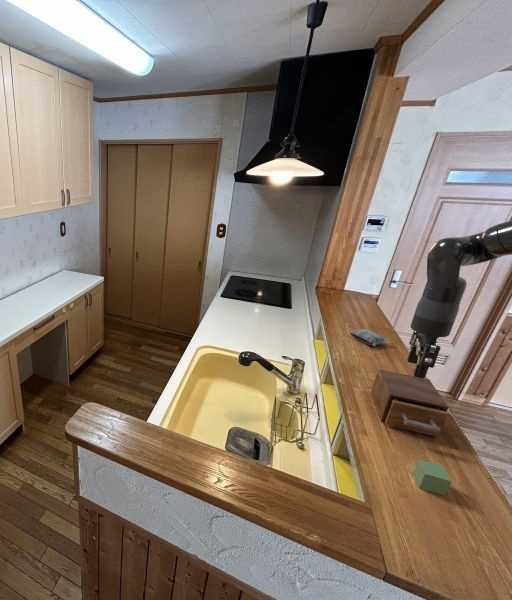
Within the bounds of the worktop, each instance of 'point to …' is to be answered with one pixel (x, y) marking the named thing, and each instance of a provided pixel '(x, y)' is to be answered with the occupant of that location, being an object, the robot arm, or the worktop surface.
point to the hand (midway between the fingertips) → (415, 369)
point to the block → (431, 477)
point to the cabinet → (403, 391)
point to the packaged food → (369, 337)
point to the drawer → (415, 416)
